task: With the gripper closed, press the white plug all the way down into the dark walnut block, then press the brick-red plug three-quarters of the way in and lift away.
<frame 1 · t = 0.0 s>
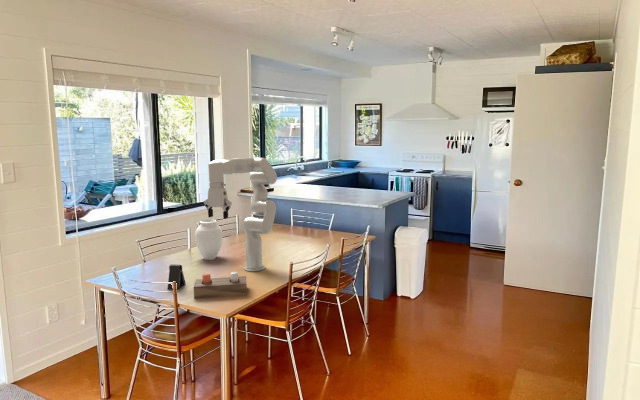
hand: (218, 217, 244), 37 cm above the table, tool pointing down, fingers open, 9 cm apart
phone stand: (176, 286, 249), on the table
plug block: (221, 292, 240), on the table
red plug: (206, 279, 237), point 7 cm above the table, slide at 0.0 cm
white plug: (234, 278, 240), point 7 cm above the table, slide at 0.0 cm
vase: (210, 258, 302), on the table
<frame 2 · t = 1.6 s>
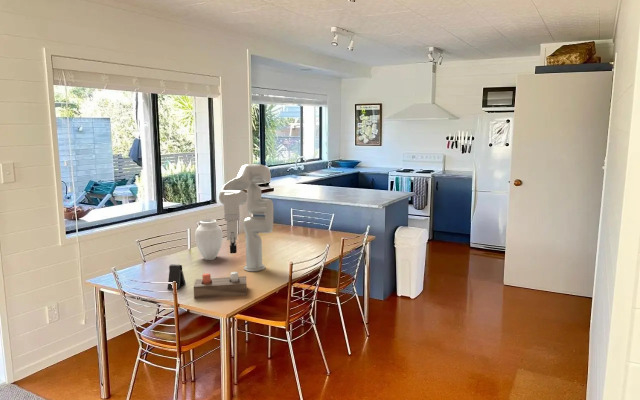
hand: (233, 252, 237), 21 cm above the table, tool pointing down, fingers closed
nothing on the table moved.
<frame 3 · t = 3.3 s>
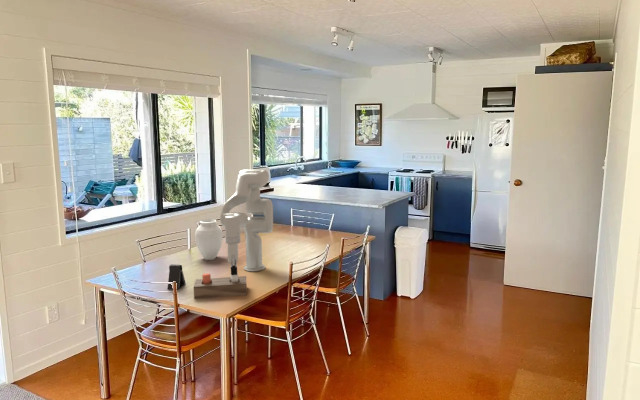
hand: (234, 274, 239), 9 cm above the table, tool pointing down, fingers closed
white plug: (234, 279, 240), point 7 cm above the table, slide at 0.7 cm, touching gripper
everything else where it was.
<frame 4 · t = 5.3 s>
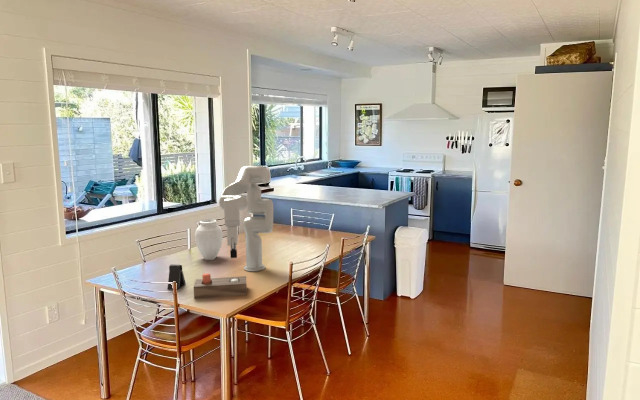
hand: (233, 257, 238), 18 cm above the table, tool pointing down, fingers closed
white plug: (234, 285, 240), point 4 cm above the table, slide at 3.7 cm
everything else where it was.
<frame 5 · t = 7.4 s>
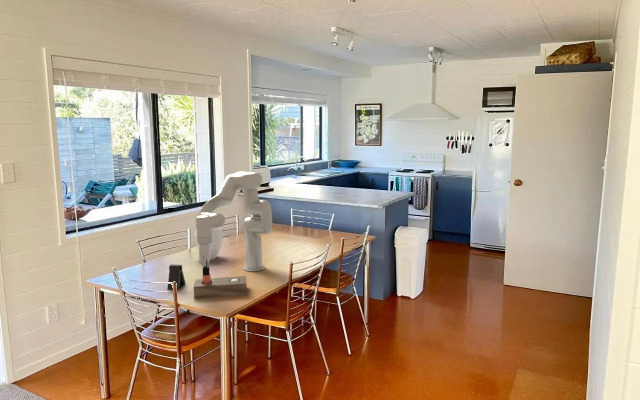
hand: (206, 274, 237), 10 cm above the table, tool pointing down, fingers closed
red plug: (206, 280, 237), point 7 cm above the table, slide at 0.1 cm, touching gripper
everything else where it was.
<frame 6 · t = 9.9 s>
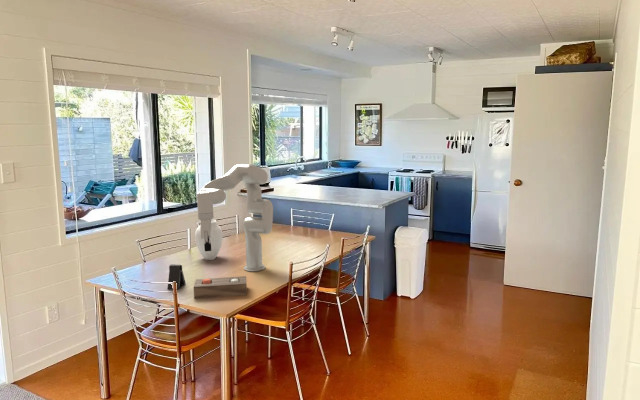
hand: (208, 250, 237), 22 cm above the table, tool pointing down, fingers closed
red plug: (206, 285, 238), point 4 cm above the table, slide at 2.8 cm
everything else where it was.
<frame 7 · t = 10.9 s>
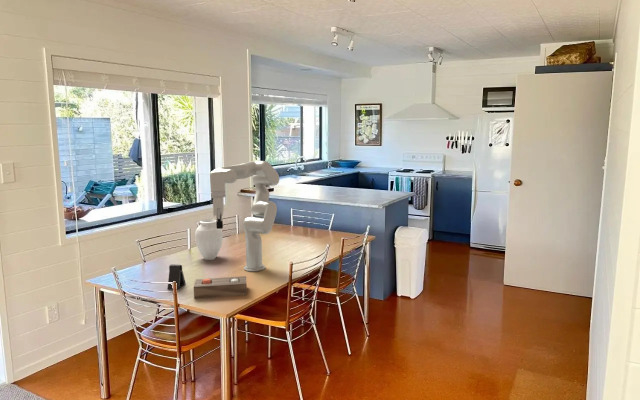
hand: (219, 228, 247), 31 cm above the table, tool pointing down, fingers closed
nothing on the table moved.
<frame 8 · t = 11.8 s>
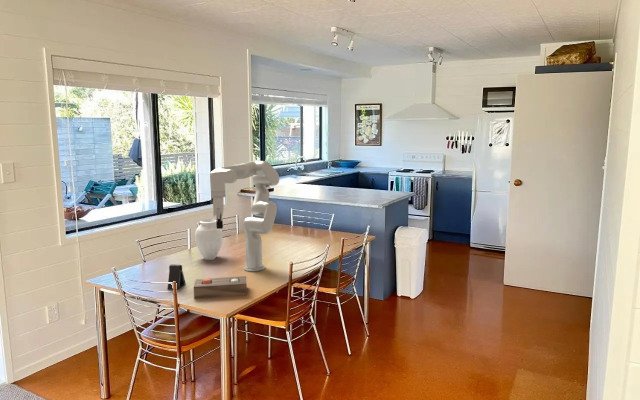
hand: (219, 228, 247), 31 cm above the table, tool pointing down, fingers closed
nothing on the table moved.
at the end: white plug slide at 3.7 cm; red plug slide at 2.8 cm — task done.
